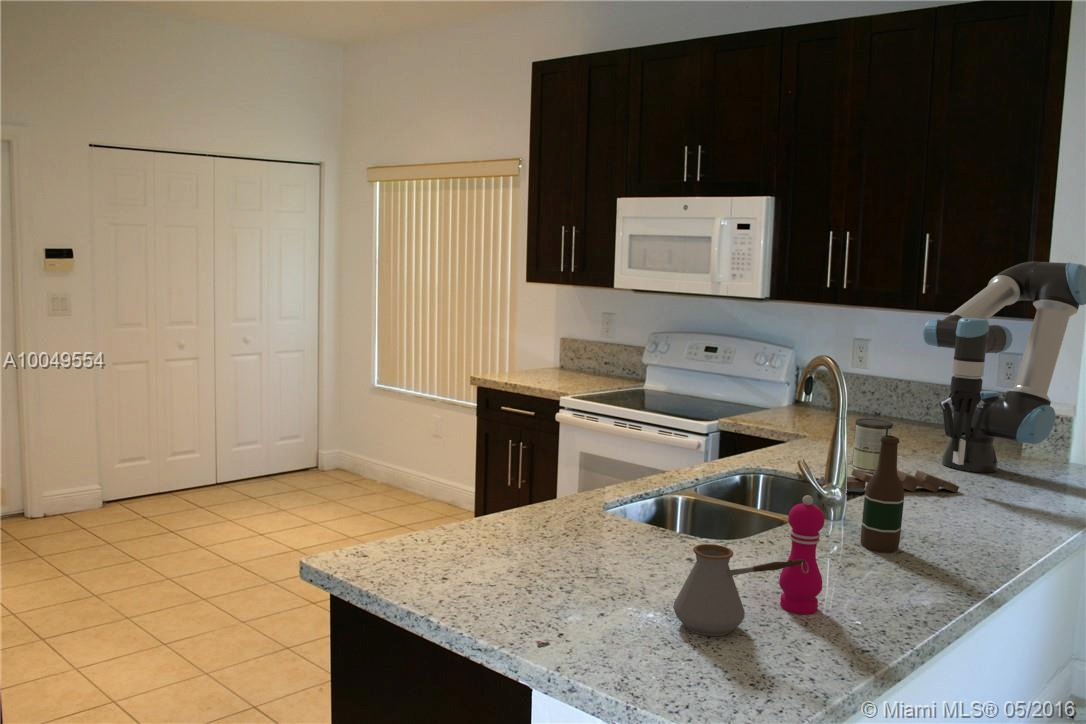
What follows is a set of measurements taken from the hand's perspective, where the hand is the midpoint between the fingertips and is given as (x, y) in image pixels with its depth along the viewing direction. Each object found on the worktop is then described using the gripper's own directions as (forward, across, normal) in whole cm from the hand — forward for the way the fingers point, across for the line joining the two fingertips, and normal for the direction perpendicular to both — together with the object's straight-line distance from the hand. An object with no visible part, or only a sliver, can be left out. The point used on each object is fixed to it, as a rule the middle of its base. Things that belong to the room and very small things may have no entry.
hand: (957, 463), depth 244 cm
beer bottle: (+8, +45, +47) cm, 66 cm away
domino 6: (+7, +1, 0) cm, 7 cm away
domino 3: (+7, +27, 0) cm, 28 cm away
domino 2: (+7, +20, 0) cm, 21 cm away
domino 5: (+7, +6, 0) cm, 9 cm away
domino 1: (+6, +27, +1) cm, 28 cm away
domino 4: (+7, +13, 0) cm, 14 cm away
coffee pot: (+8, +91, +90) cm, 128 cm away
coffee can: (+8, +13, -22) cm, 27 cm away
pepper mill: (+8, +76, +79) cm, 110 cm away
